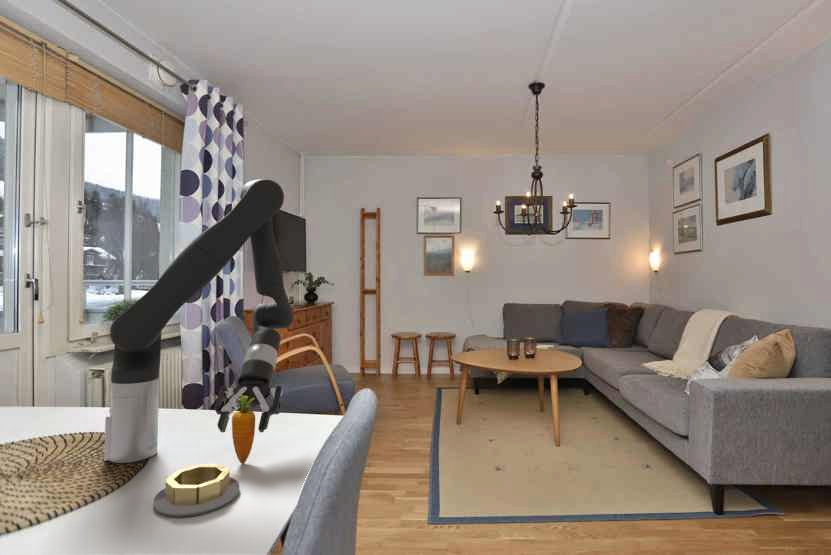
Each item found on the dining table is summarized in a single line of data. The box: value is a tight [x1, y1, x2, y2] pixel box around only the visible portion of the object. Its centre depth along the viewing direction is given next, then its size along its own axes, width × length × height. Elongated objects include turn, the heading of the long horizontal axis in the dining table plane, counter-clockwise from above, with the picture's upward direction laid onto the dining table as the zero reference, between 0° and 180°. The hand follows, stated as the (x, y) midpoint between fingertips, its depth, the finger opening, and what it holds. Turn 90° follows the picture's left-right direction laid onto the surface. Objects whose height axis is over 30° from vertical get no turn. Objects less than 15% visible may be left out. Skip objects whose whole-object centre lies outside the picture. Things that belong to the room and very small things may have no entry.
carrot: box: [231, 395, 256, 465], centre depth 95 cm, size 5×5×15 cm
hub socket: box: [153, 463, 240, 519], centre depth 80 cm, size 14×14×4 cm
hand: (241, 430), depth 94 cm, fingers open, 8 cm apart
